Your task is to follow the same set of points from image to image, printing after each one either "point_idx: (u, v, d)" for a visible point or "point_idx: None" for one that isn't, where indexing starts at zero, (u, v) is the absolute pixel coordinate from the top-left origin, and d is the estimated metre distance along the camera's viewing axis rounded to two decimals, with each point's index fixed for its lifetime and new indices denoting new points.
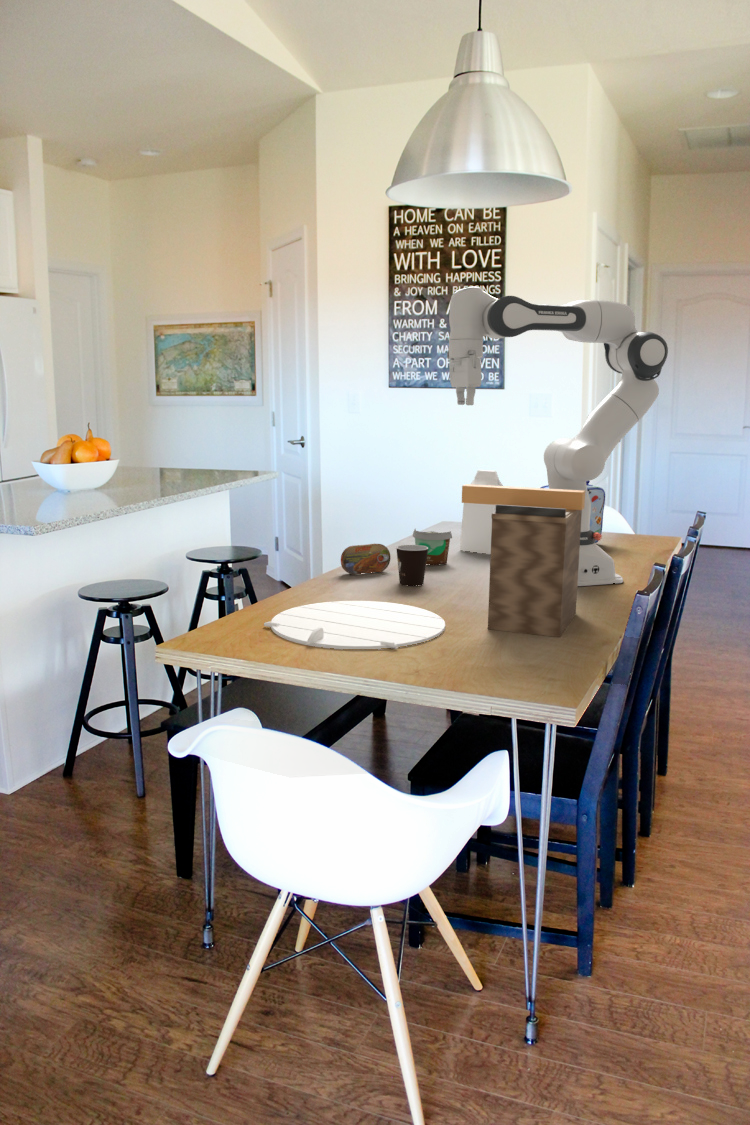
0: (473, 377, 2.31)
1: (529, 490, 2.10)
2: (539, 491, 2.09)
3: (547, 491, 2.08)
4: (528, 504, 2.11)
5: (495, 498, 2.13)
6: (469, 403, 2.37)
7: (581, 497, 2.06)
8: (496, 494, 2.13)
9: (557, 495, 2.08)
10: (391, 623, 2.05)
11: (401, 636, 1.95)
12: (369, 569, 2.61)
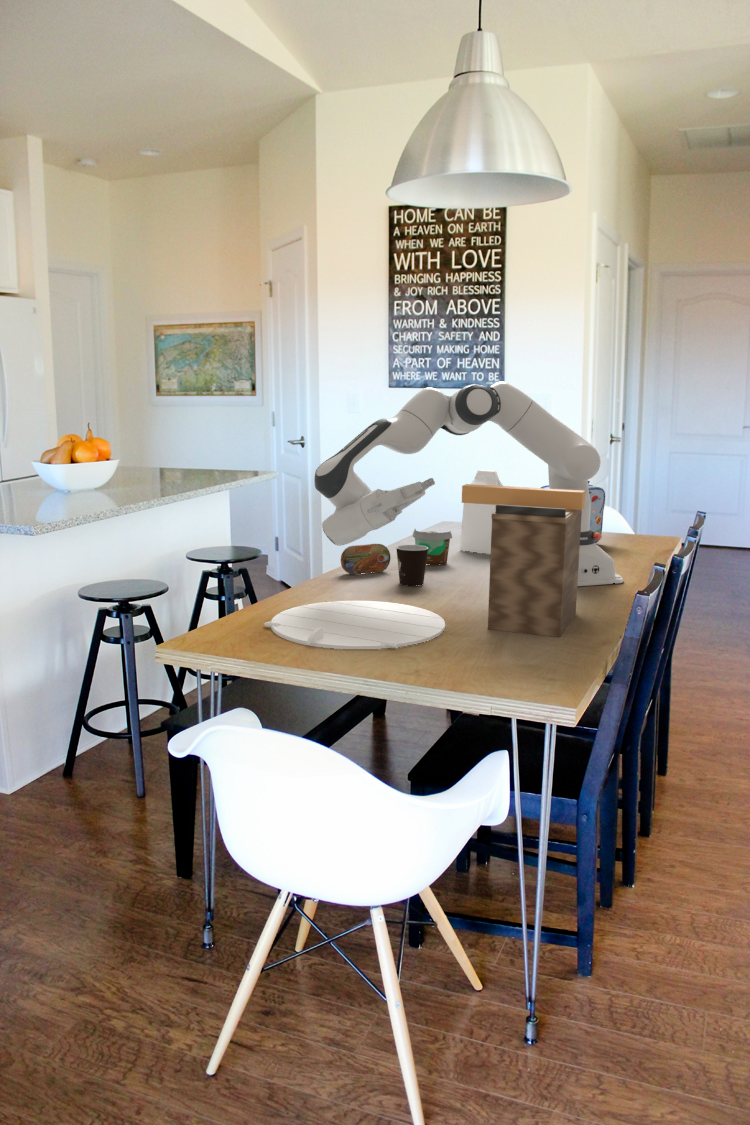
0: (389, 501, 2.14)
1: (529, 490, 2.10)
2: (539, 491, 2.09)
3: (547, 491, 2.08)
4: (528, 504, 2.11)
5: (495, 498, 2.13)
6: (418, 486, 2.16)
7: (581, 497, 2.06)
8: (496, 494, 2.13)
9: (557, 495, 2.08)
10: (391, 623, 2.05)
11: (401, 636, 1.95)
12: (369, 569, 2.61)
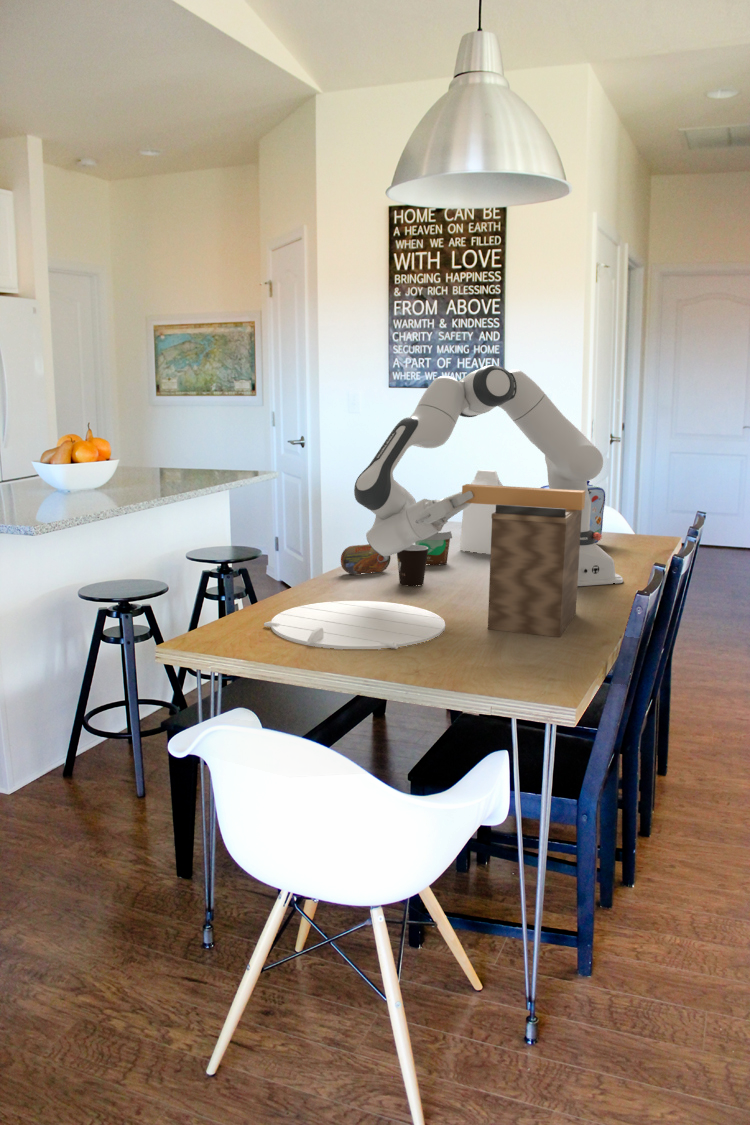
0: (439, 512, 2.10)
1: (529, 490, 2.10)
2: (539, 491, 2.09)
3: (547, 491, 2.08)
4: (528, 504, 2.11)
5: (495, 498, 2.13)
6: (470, 495, 2.14)
7: (581, 497, 2.06)
8: (496, 494, 2.13)
9: (557, 495, 2.08)
10: (391, 623, 2.05)
11: (401, 636, 1.95)
12: (369, 569, 2.61)
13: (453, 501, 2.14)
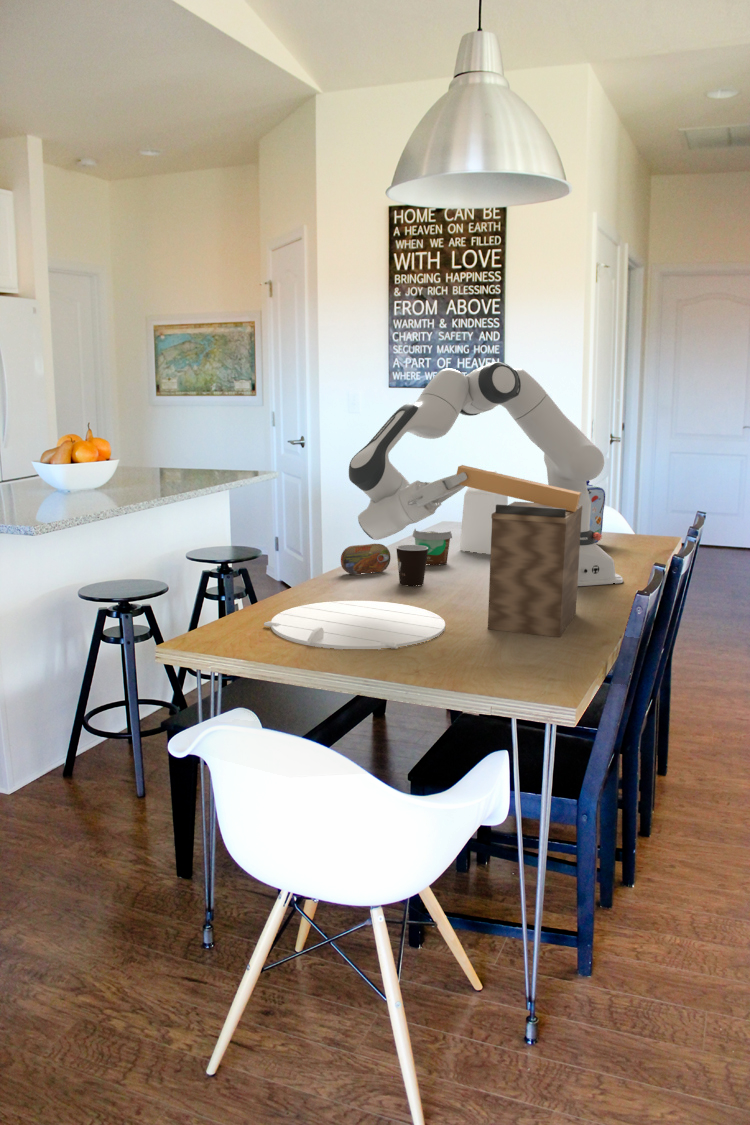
0: (431, 493, 2.05)
1: (525, 483, 2.05)
2: (535, 486, 2.05)
3: (543, 487, 2.04)
4: (522, 497, 2.06)
5: (489, 485, 2.08)
6: (464, 477, 2.08)
7: (576, 499, 2.02)
8: (491, 481, 2.08)
9: (553, 493, 2.04)
10: (391, 623, 2.05)
11: (401, 636, 1.95)
12: (369, 569, 2.61)
13: (446, 483, 2.09)
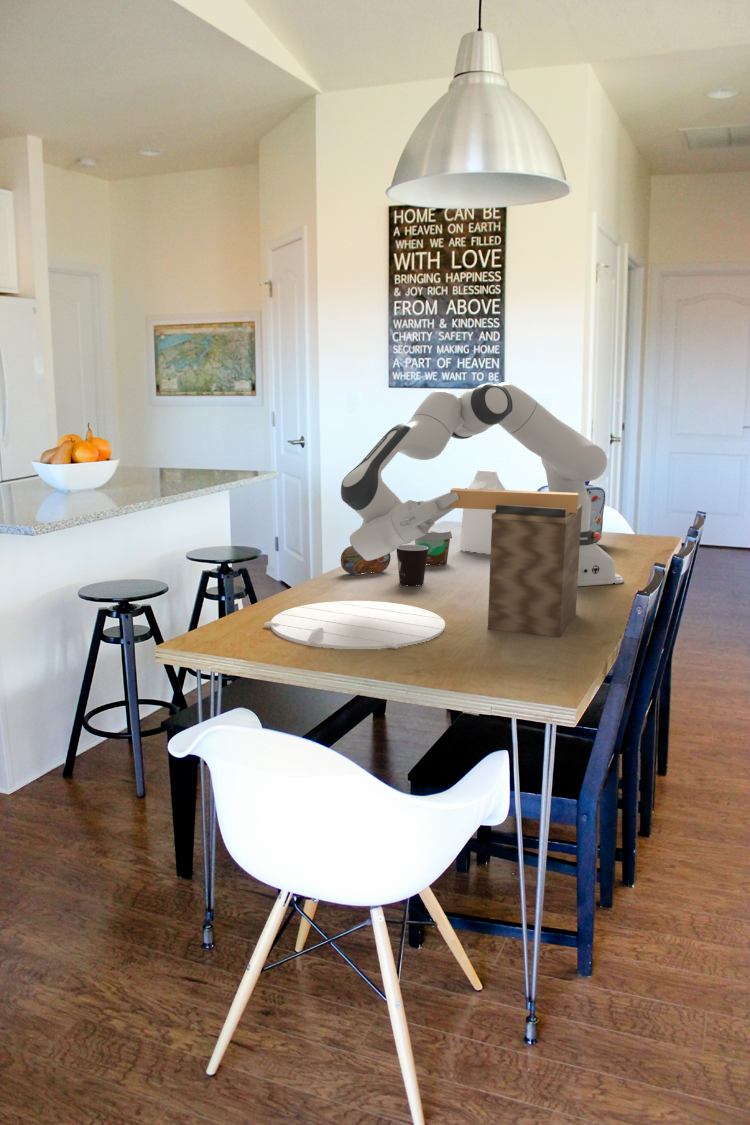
0: (424, 514, 2.00)
1: (522, 493, 2.02)
2: (532, 494, 2.01)
3: (541, 494, 2.01)
4: None
5: (486, 502, 2.04)
6: (455, 497, 2.02)
7: (577, 500, 1.99)
8: (487, 498, 2.03)
9: (552, 498, 2.00)
10: (391, 623, 2.05)
11: (401, 636, 1.95)
12: (369, 569, 2.61)
13: None
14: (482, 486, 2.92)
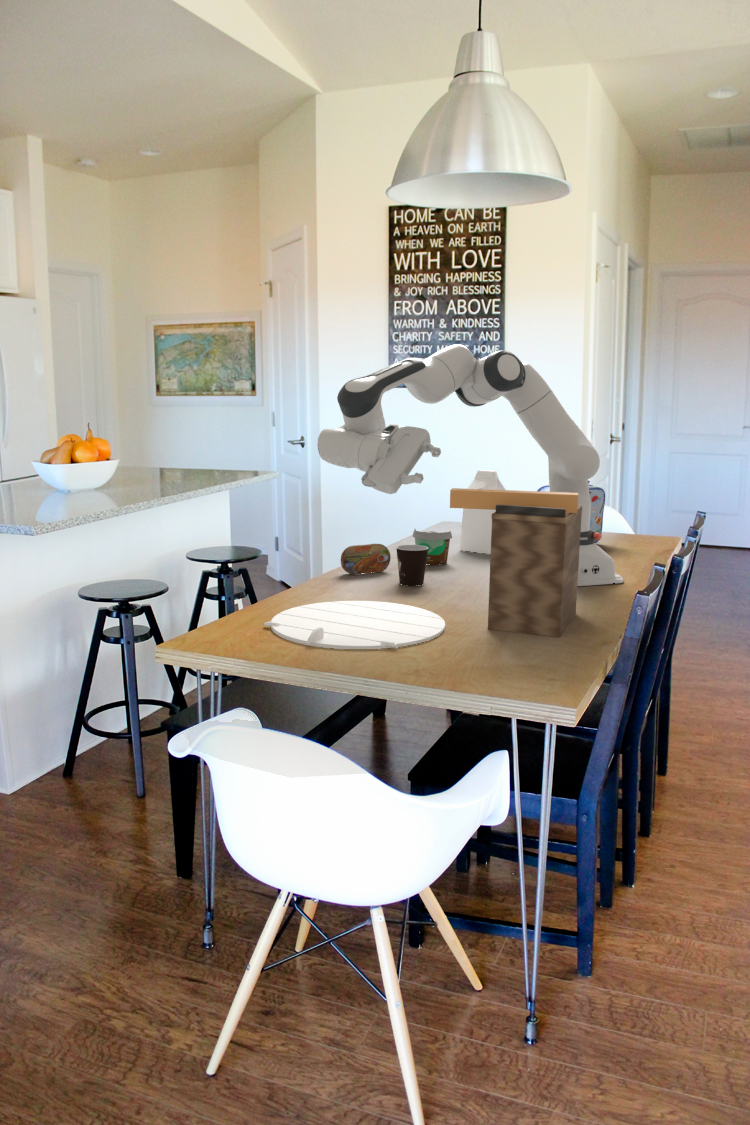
0: (384, 489, 2.08)
1: (522, 493, 2.02)
2: (532, 494, 2.01)
3: (541, 494, 2.01)
4: None
5: (486, 502, 2.04)
6: (418, 481, 2.07)
7: (577, 500, 1.99)
8: (487, 498, 2.03)
9: (552, 498, 2.00)
10: (391, 623, 2.05)
11: (401, 636, 1.95)
12: (369, 569, 2.61)
13: None
14: (482, 486, 2.92)
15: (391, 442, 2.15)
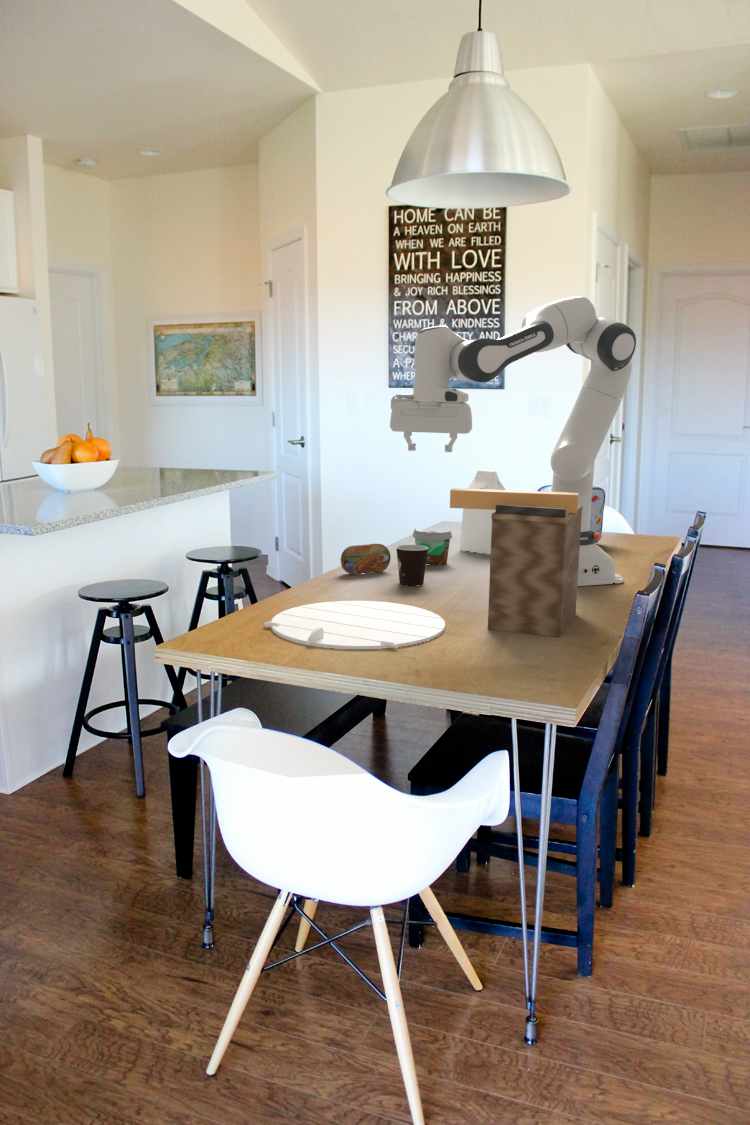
0: None
1: (522, 493, 2.02)
2: (532, 494, 2.01)
3: (541, 494, 2.01)
4: None
5: (486, 502, 2.04)
6: None
7: (577, 500, 1.99)
8: (487, 498, 2.03)
9: (552, 498, 2.00)
10: (391, 623, 2.05)
11: (401, 636, 1.95)
12: (369, 569, 2.61)
13: None
14: (482, 486, 2.92)
15: (440, 404, 2.20)
